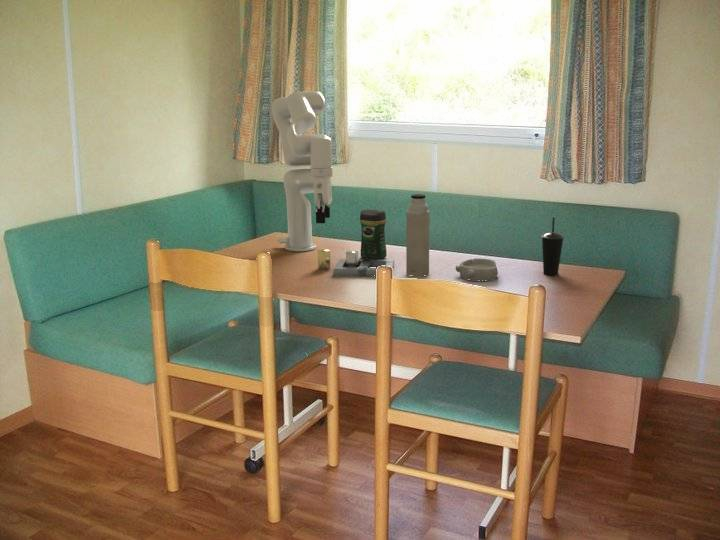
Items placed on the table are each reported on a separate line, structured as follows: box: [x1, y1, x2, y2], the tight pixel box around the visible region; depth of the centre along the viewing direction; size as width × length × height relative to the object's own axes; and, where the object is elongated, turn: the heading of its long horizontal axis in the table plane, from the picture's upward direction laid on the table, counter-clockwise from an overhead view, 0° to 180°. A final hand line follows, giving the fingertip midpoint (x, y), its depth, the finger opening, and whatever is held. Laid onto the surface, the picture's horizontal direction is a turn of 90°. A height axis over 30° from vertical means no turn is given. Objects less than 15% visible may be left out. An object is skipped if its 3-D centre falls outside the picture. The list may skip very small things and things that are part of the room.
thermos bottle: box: [405, 193, 431, 277], centre depth 267 cm, size 8×8×28 cm
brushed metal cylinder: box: [345, 249, 359, 268], centre depth 275 cm, size 4×4×7 cm
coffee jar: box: [359, 208, 387, 260], centre depth 291 cm, size 10×8×19 cm
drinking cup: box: [540, 217, 565, 277], centre depth 265 cm, size 8×8×20 cm
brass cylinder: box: [317, 248, 331, 271], centre depth 278 cm, size 4×4×7 cm
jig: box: [333, 258, 395, 277], centre depth 275 cm, size 20×14×2 cm
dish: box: [455, 258, 499, 282], centre depth 266 cm, size 14×14×5 cm
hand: (323, 220), depth 274 cm, fingers open, 9 cm apart
